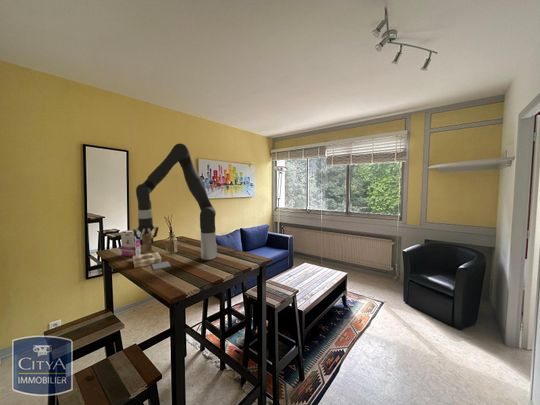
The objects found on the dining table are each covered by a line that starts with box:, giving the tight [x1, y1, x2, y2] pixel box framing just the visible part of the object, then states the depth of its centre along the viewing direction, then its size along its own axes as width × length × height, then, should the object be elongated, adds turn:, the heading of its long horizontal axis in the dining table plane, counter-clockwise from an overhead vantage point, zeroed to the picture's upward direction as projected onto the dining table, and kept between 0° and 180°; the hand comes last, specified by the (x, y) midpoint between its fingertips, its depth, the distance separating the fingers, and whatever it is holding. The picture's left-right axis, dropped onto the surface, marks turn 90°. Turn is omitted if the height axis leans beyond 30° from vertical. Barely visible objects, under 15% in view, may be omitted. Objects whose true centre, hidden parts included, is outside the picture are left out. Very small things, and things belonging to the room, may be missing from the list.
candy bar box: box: [120, 229, 142, 258], centre depth 147 cm, size 11×5×16 cm, turn 76°
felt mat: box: [151, 261, 172, 271], centre depth 130 cm, size 9×9×1 cm
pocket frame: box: [132, 251, 163, 269], centre depth 137 cm, size 14×14×3 cm
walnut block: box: [141, 232, 153, 253], centre depth 135 cm, size 4×4×11 cm
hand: (146, 244), depth 136 cm, fingers closed on walnut block, 4 cm apart
